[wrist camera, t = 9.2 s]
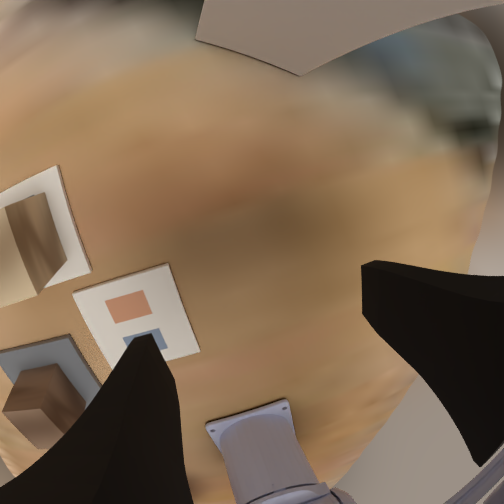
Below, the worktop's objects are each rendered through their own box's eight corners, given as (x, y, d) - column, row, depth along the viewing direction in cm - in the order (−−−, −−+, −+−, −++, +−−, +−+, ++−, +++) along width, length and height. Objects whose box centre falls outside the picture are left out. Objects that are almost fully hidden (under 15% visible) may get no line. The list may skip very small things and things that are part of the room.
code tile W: (200, 348, 20) (200, 351, 20) (115, 370, 19) (114, 373, 19) (168, 262, 18) (168, 265, 17) (73, 291, 17) (71, 294, 16)
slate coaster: (122, 413, 21) (122, 417, 20) (49, 422, 19) (47, 425, 19) (69, 334, 17) (68, 337, 17) (-5, 351, 16) (-7, 355, 15)
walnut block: (86, 402, 19) (77, 447, 14) (49, 407, 18) (37, 449, 14) (57, 362, 17) (40, 408, 13) (20, 371, 16) (1, 412, 12)
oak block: (67, 260, 15) (37, 295, 11) (18, 278, 15) (-16, 313, 10) (44, 191, 14) (4, 206, 9) (-4, 216, 13) (-47, 237, 8)
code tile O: (92, 270, 17) (90, 272, 16) (16, 295, 15) (14, 298, 15) (58, 165, 14) (56, 165, 14) (-17, 204, 13) (-20, 205, 12)
